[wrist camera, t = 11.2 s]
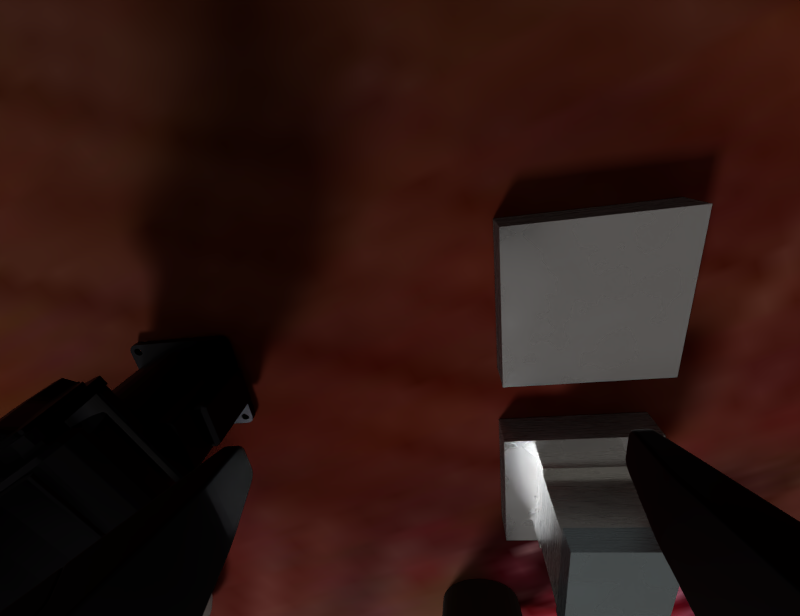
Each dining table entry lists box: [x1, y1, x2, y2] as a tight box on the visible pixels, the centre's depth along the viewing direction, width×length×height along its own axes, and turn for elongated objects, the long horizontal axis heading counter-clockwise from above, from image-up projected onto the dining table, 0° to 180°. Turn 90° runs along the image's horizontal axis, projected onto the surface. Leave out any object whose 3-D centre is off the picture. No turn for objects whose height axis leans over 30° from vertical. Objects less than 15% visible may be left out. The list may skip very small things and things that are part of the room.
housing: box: [535, 450, 679, 616], centre depth 21 cm, size 5×7×6 cm
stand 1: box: [493, 197, 712, 387], centre depth 19 cm, size 9×9×2 cm
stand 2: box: [499, 412, 665, 540], centre depth 25 cm, size 9×9×2 cm
